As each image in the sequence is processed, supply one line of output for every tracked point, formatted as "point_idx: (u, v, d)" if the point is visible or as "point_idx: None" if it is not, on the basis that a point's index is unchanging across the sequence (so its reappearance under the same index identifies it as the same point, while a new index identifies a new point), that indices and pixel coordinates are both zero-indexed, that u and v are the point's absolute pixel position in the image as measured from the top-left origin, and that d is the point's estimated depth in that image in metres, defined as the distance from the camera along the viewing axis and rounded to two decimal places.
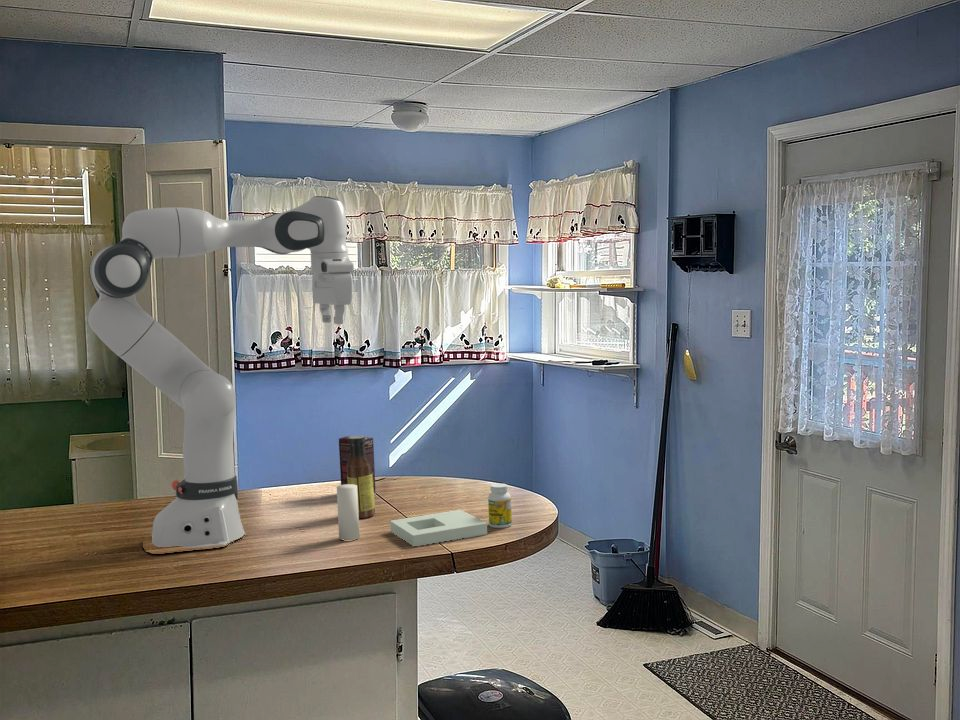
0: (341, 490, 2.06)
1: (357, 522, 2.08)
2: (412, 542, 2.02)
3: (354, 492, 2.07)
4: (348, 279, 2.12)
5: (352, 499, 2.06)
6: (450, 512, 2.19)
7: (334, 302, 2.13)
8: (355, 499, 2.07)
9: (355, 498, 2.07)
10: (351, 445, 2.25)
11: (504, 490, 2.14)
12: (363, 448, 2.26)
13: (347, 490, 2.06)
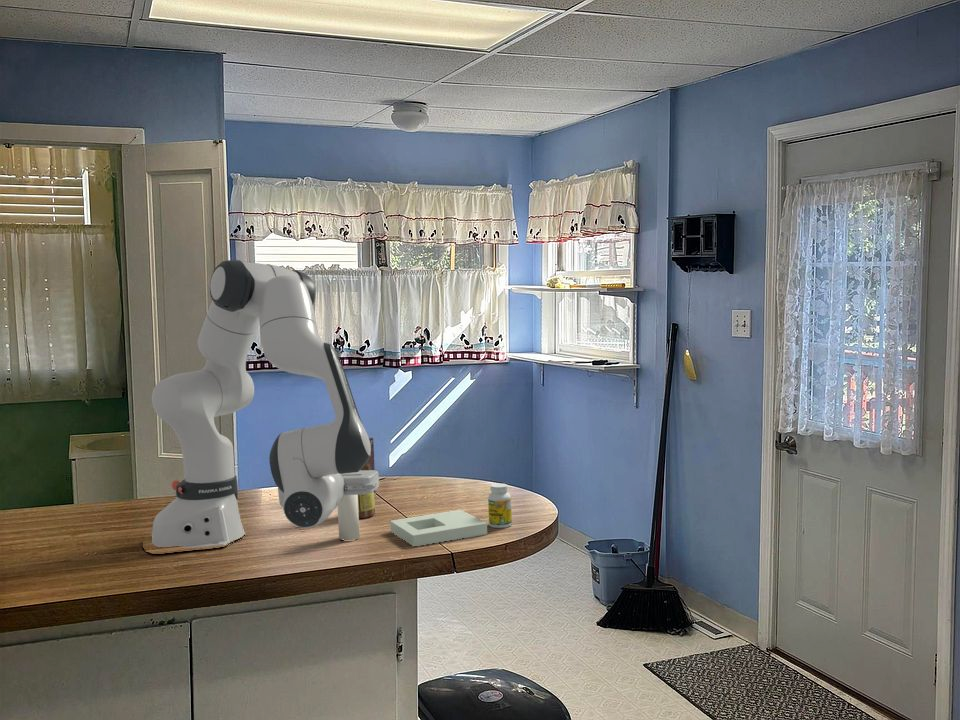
0: None
1: (357, 522, 2.08)
2: (412, 542, 2.02)
3: None
4: None
5: (352, 499, 2.06)
6: (450, 512, 2.19)
7: None
8: (355, 499, 2.07)
9: (355, 498, 2.07)
10: None
11: (504, 490, 2.14)
12: None
13: None
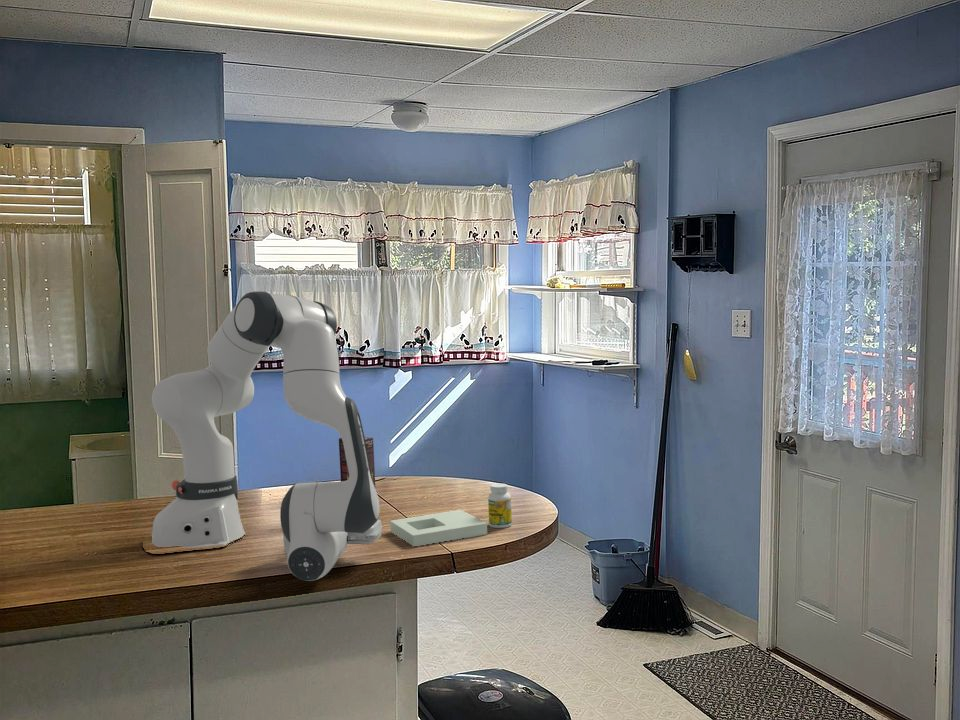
0: None
1: None
2: (412, 542, 2.02)
3: None
4: None
5: None
6: (450, 512, 2.19)
7: None
8: None
9: None
10: None
11: (504, 490, 2.14)
12: None
13: None
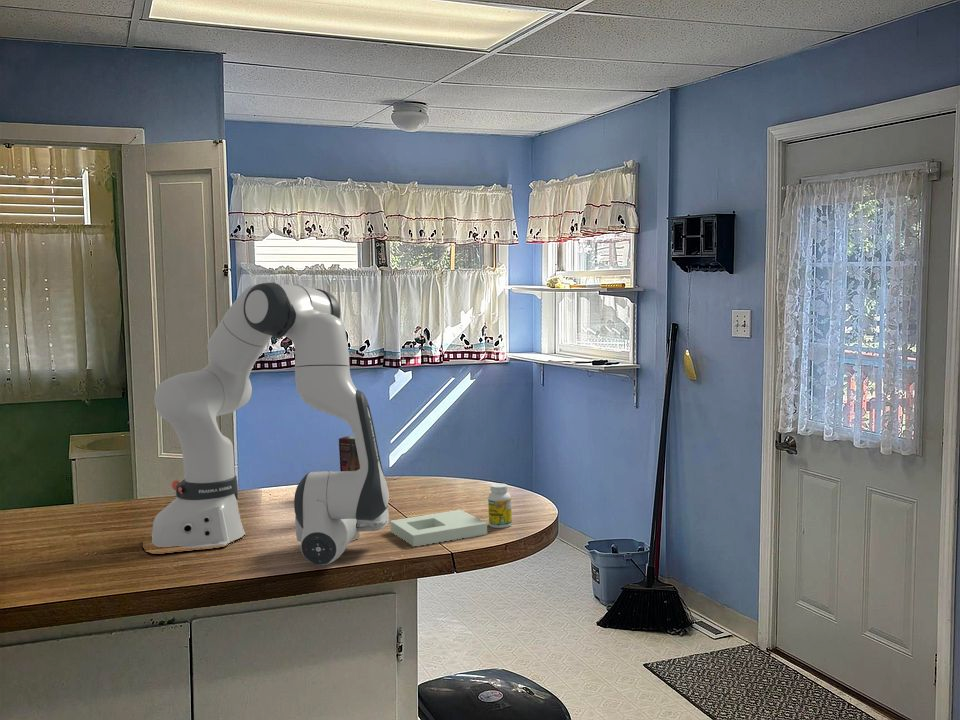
0: None
1: None
2: (412, 542, 2.02)
3: None
4: None
5: None
6: (450, 512, 2.19)
7: None
8: None
9: None
10: (351, 445, 2.25)
11: (504, 490, 2.14)
12: None
13: None
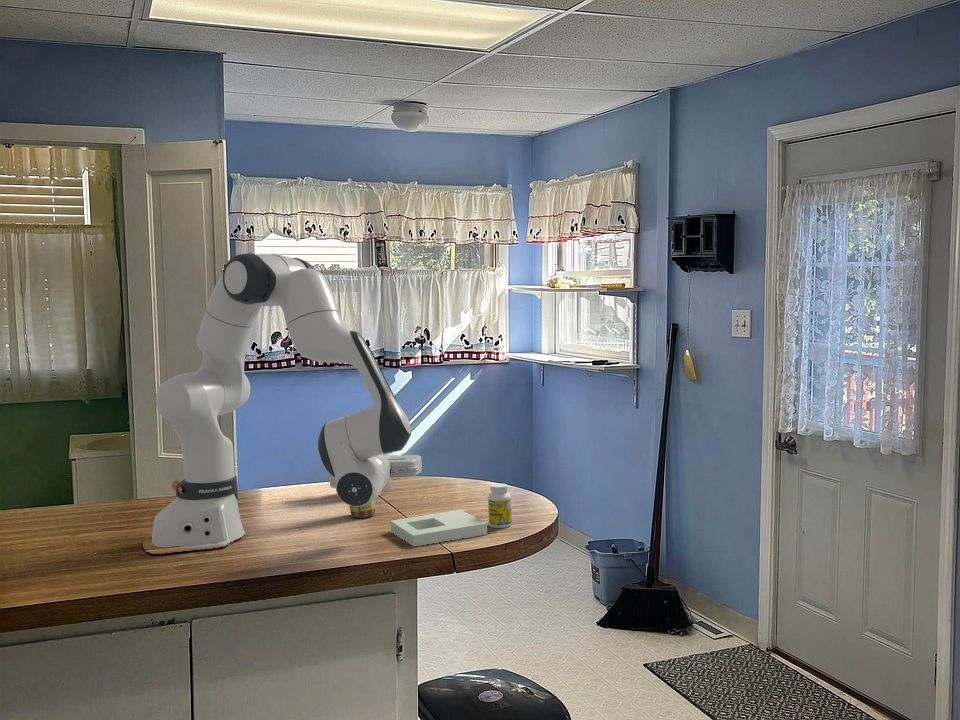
0: None
1: None
2: (412, 542, 2.02)
3: None
4: None
5: None
6: (450, 512, 2.19)
7: None
8: None
9: None
10: None
11: (504, 490, 2.14)
12: None
13: None
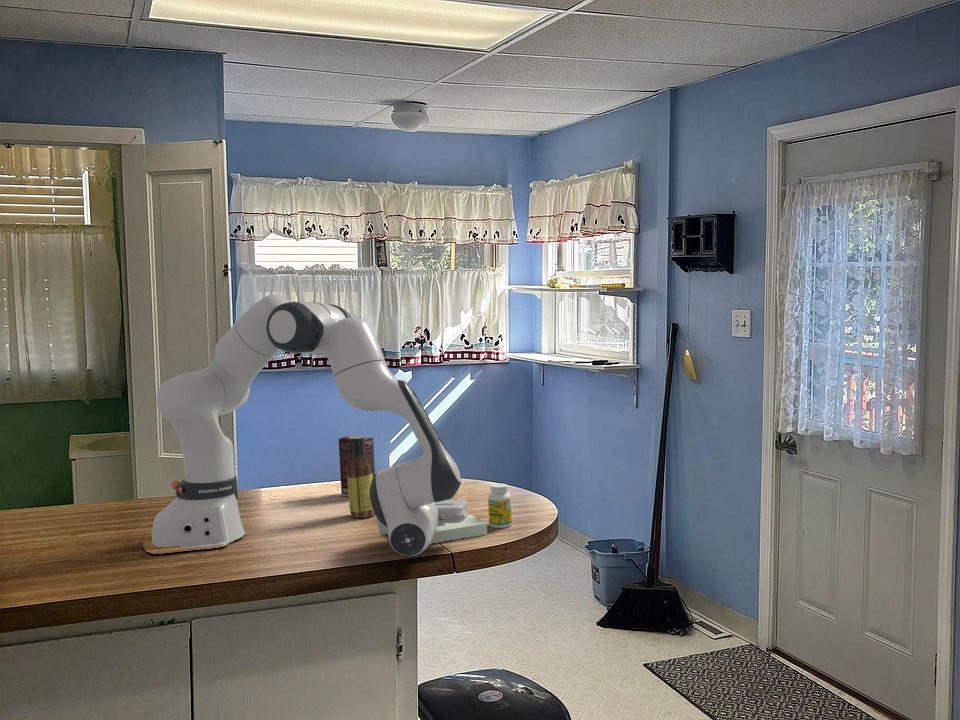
0: None
1: None
2: None
3: None
4: (377, 520, 2.00)
5: None
6: None
7: None
8: None
9: None
10: (351, 445, 2.25)
11: (504, 490, 2.14)
12: (363, 448, 2.26)
13: None
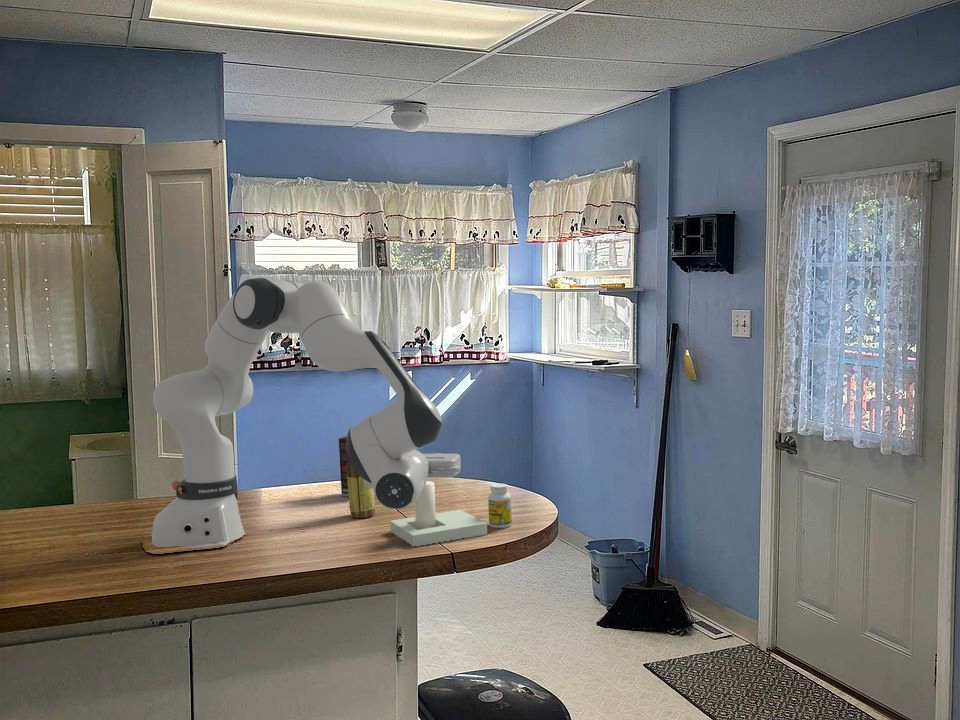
0: None
1: (434, 519, 2.09)
2: (412, 542, 2.02)
3: (432, 489, 2.07)
4: None
5: (430, 495, 2.07)
6: (450, 512, 2.19)
7: None
8: (433, 496, 2.08)
9: (433, 495, 2.08)
10: None
11: (504, 490, 2.14)
12: None
13: (425, 487, 2.06)
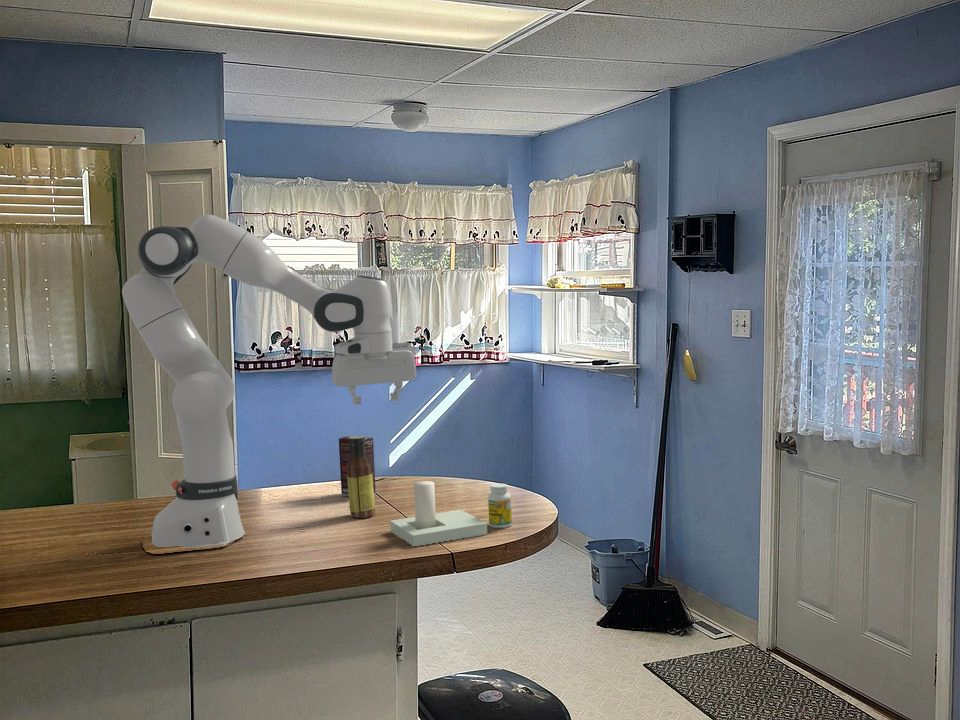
0: (419, 487, 2.07)
1: (434, 519, 2.09)
2: (412, 542, 2.02)
3: (432, 489, 2.07)
4: (337, 361, 2.13)
5: (429, 495, 2.07)
6: (450, 512, 2.19)
7: None
8: (433, 496, 2.08)
9: (433, 495, 2.08)
10: (351, 445, 2.25)
11: (504, 490, 2.14)
12: (363, 448, 2.26)
13: (425, 487, 2.06)
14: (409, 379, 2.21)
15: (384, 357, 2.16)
